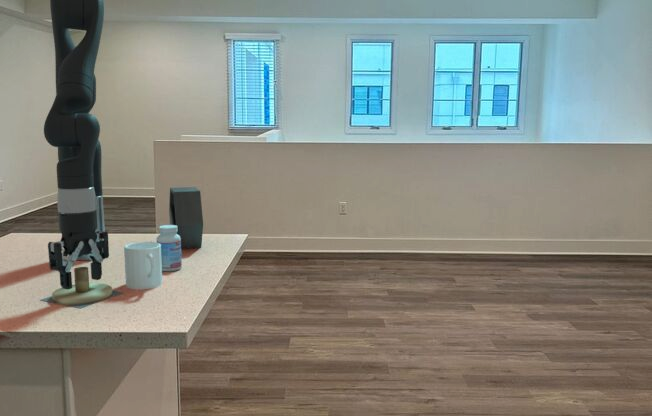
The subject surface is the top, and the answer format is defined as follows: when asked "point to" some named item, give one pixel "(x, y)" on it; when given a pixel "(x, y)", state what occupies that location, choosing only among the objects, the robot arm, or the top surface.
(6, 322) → the top surface
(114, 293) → the mat
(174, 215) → the planter
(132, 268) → the mug
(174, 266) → the pill bottle
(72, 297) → the lid
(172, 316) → the top surface
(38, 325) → the top surface
